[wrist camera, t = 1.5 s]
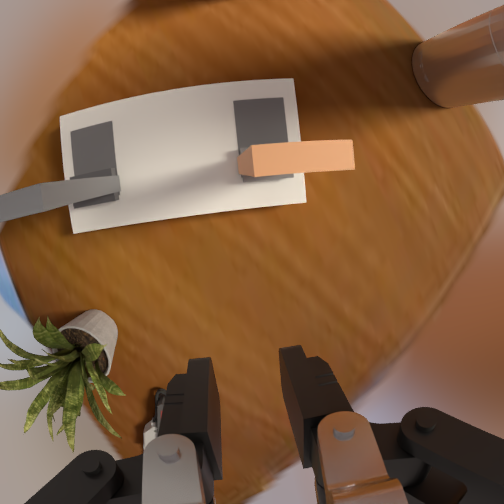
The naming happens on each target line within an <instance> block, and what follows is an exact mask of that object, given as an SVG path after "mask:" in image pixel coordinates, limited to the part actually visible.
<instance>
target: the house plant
mask: <svg viewBox="0 0 504 504" xmlns="http://www.w3.org/2000/svg"><path fill="white" fill-rule="evenodd" d="M39 318H40V317H39ZM33 335H34V338H35V339H36V340H37V341H38V342H39V343H41V344H42V345H44V346H46V347H49V348H52V352H53V354H50V353H47V352H46V353H47V354H48V356H41V355H35V354H31V353H28V352H26V351H24V350H23V349H21V348H19V347H18V346H16V345H15V344H13V343H12V342H10V341H9V340H8V339H7V338H6V336H5V335H4V334H3V332H2V331H1V330H0V337H1V339H2V340H3V342H4V343H5V344H6V346H7V347H8V348H9V349H10V350H11V351H12V352H14V353H15V354H17V355H18V356H21V357H23V358H26V359H31V360H20V361H16V360H12V359H11V360H10V361H11V362H13V363H14V364H1V363H0V367H2V368H4V369H8V370H24V369H26V370H27V371H28V373H29V376H30V377H28V378H24V379H20V380H15V381H4V382H0V389H2V390H21V389H26V388H30V387H32V386H33V385H35V384H37V383H39V382H41V381H43V380H45V379H47V378H49V377H51V376H52V377H51V378H50V379H49V381H48V382H47V384H46V385H45V387H44V388H43V389H42V391H41V392H40V393H39V394H38V395H37V397H36V398H35V400H34V401H33V403H32V404H31V406H30V408H29V409H28V412H27V417H26V423H25V426H24V433H25V432H26V431H28V430H29V428H30V427H31V426H32V424H33V423H34V421H35V419H36V417H37V416H38V414H39V412H40V411H41V410H42V409H43V407H44V406H45V405H46V404H47V402H48V401H49V399H50V401H49V405H48V410H47V422H48V427H49V432H50V435H51V437H52V440H53V431H52V416H53V413H55V412H56V411H57V410H58V409H59V408H60V407H64V408H63V419H62V423H63V425H62V426H61V428H60V429H59V431H58V433H57V435H58V434H59V433H60V432H62V430H63V429H64V430H65V433H66V436H67V441H68V444H69V446H70V448H71V449H72V451H73V452H74V435H75V422H76V418H77V416H80V410H81V406H82V403H83V396H84V386H85V389H86V393H87V398H88V401H89V404H90V406H91V409H92V411H93V413H94V415H95V416H96V418H97V420H98V421H99V422H100V423H101V424H102V425H103V426H104V427H105V428H106V429H107V430H108V431H109V432H111V433H112V434H113V435H115V436H118V437H120V436H119V435H118V434H117V433H116V432H115V431H114V430H113V428H112V427H111V426H110V425H109V424H108V422H107V421H106V420H105V418H104V416H103V415H102V413H101V411H100V409H99V407H98V405H97V403H96V401H95V399H94V396H93V393H92V390H94V389H95V387H96V389H97V391H98V393H99V395H100V397H101V399H102V402H103V403H104V405H105V407H106V408H107V409H108V411H109V412H110V413H111V409H110V407H109V404H108V401H107V396H106V392H105V390H104V388H105V389H106V390H107V391H108V392H109V393H111V394H115V395H125V394H123V392H122V391H121V389H120V388H119V387H118V386H117V385H116V384H115V383H114V382H113V381H112V380H110V379H109V378H108V377H107V375H108V374H109V371H110V368H111V363H112V359H113V354H114V350H115V345H116V341H117V337H118V330H117V326H116V324H115V322H114V321H113V320H112V319H111V318H110V317H109V316H108V315H107V314H105V313H104V312H102V311H100V310H96V309H94V310H88V311H86V312H84V313H83V314H81V315H79V316H78V317H76V318H75V319H73V320H72V321H70V322H69V323H67V324H66V325H64V326H63V327H61V328H60V329H57V328H56V327H55V326H54V325H53V324H52V323H51V322H50V320H49V318H48V317H47V324H46V328H45V327H44V326H43V325H42V324H41V322H40V320H39V319H38V320H37V322H36V324H35V326H34V327H33ZM43 351H44V350H43ZM44 352H45V351H44ZM53 360H56V361H57V362H55V363H47V362H50V361H53ZM43 364H47V366H43V367H35V366H40V365H43ZM90 383H94V385H95V387H94V386H93V385H92V384H90ZM103 387H104V388H103ZM111 414H112V413H111ZM112 415H113V414H112ZM53 419H54V417H53ZM120 438H121V437H120Z"/></svg>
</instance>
